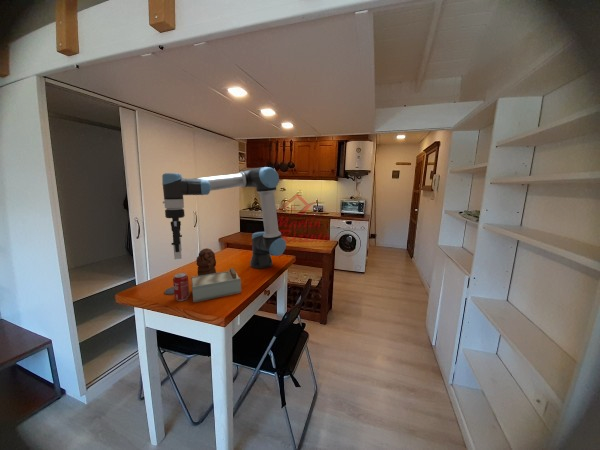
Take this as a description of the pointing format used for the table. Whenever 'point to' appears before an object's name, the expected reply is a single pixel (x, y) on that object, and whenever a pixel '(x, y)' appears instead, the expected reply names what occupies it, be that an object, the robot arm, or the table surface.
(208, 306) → the table surface
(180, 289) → the beverage can
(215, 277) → the lid
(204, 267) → the wooden figurine
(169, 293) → the coaster
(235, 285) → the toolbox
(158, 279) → the table surface
